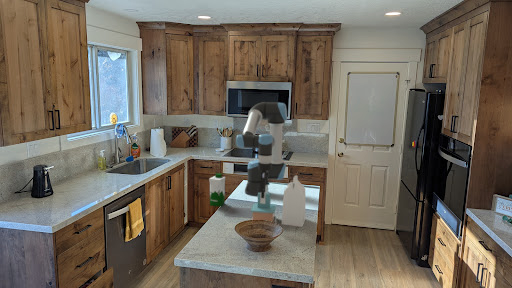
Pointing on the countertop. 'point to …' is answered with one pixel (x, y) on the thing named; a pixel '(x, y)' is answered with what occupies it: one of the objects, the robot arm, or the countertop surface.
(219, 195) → the milk carton
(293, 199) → the milk
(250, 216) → the mat
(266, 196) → the lid
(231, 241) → the countertop surface
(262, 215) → the pot
